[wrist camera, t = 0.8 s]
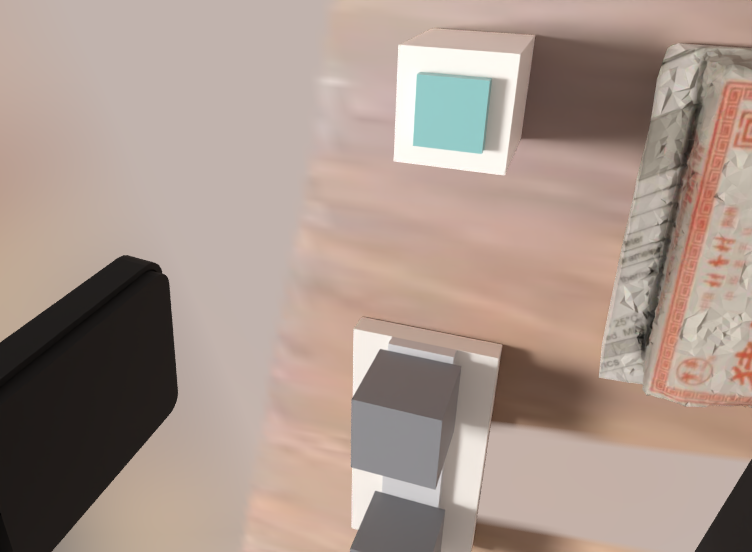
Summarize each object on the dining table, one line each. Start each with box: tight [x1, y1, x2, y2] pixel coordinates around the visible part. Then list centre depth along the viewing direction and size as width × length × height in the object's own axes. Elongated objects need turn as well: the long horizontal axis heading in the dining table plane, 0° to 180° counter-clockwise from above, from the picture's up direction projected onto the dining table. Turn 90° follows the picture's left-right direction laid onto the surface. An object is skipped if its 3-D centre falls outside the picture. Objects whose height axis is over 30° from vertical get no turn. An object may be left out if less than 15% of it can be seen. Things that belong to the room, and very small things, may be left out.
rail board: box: [350, 317, 502, 552], centre depth 40 cm, size 18×9×7 cm, turn 179°
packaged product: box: [599, 43, 752, 408], centre depth 29 cm, size 18×5×10 cm
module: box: [394, 28, 535, 175], centre depth 29 cm, size 5×5×7 cm
